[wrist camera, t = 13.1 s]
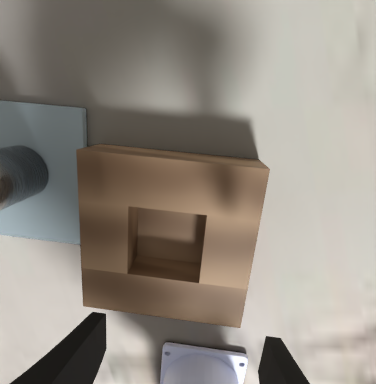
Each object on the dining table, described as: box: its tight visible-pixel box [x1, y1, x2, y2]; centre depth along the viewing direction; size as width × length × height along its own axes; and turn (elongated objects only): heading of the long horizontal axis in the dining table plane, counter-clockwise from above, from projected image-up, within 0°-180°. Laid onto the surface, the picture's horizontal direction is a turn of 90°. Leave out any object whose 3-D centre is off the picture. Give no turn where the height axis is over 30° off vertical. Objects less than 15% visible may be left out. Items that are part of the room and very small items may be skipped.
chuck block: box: [76, 144, 270, 328], centre depth 19 cm, size 12×12×4 cm
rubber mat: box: [0, 100, 87, 245], centre depth 20 cm, size 11×10×1 cm
